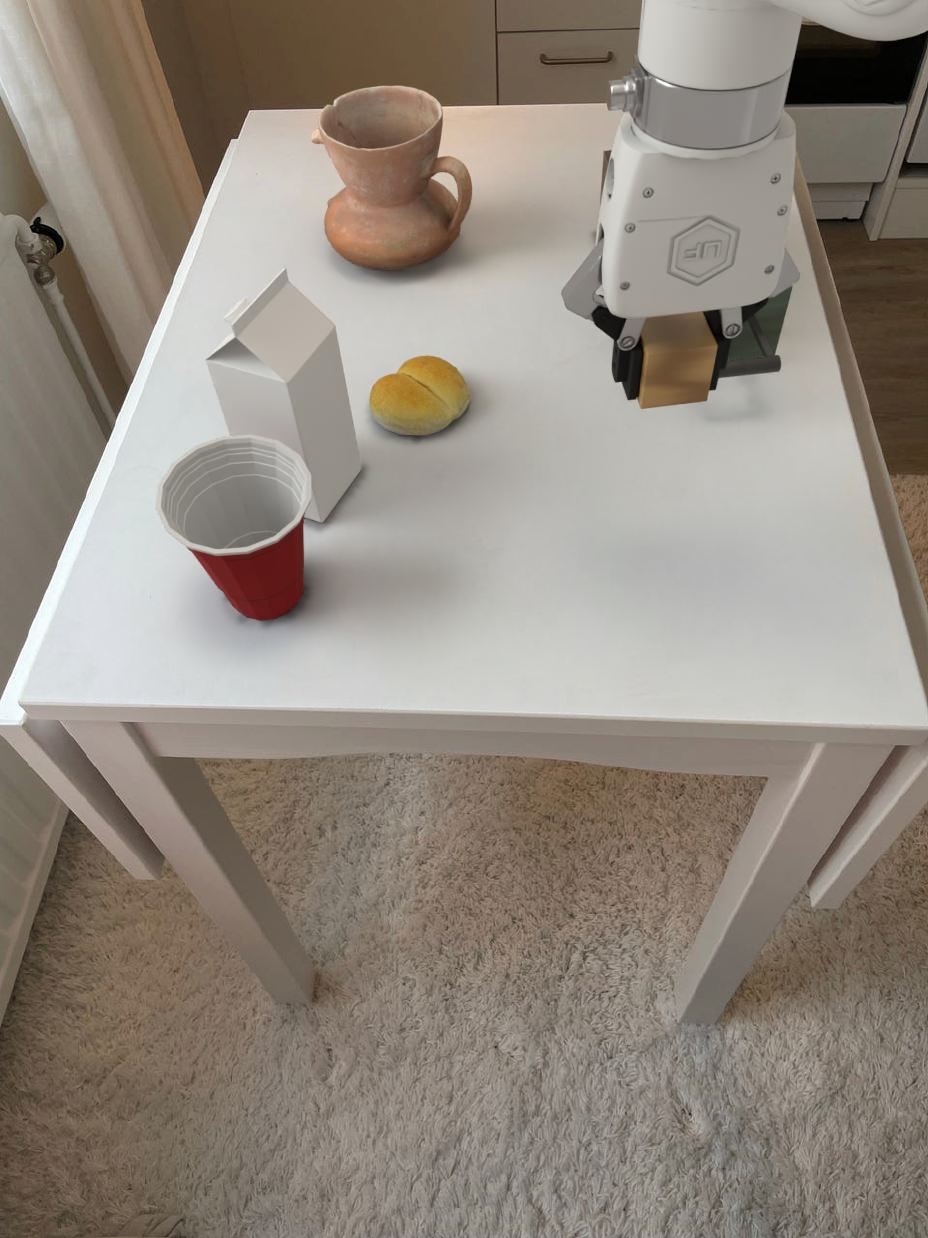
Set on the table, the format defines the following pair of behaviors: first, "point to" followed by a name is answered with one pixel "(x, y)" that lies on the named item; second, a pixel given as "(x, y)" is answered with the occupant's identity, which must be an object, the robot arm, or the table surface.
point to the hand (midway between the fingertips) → (666, 379)
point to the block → (676, 360)
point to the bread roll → (420, 397)
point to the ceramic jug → (390, 178)
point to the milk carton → (289, 386)
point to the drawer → (758, 340)
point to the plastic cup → (242, 519)
